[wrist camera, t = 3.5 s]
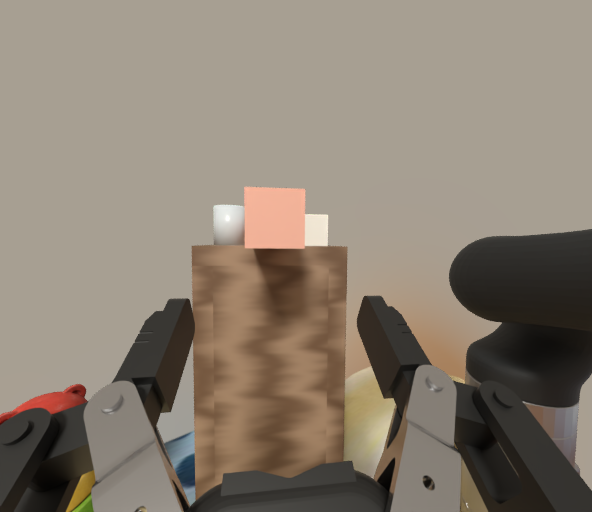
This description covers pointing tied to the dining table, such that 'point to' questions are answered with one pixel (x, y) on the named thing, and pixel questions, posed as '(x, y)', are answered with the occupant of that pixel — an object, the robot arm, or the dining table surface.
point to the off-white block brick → (316, 230)
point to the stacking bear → (55, 402)
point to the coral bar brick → (274, 218)
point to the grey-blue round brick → (229, 225)
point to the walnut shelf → (268, 359)
